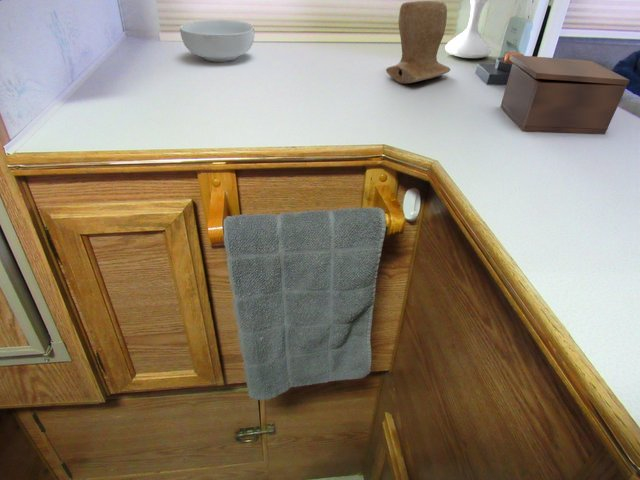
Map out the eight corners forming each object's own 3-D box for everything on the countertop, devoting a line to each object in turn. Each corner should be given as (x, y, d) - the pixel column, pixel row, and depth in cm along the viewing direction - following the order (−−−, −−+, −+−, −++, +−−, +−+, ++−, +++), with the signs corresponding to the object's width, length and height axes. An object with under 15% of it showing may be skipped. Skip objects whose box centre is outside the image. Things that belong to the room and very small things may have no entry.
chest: (523, 131, 69) (539, 82, 65) (500, 107, 79) (512, 63, 74) (605, 134, 70) (627, 85, 65) (572, 109, 79) (589, 65, 74)
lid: (535, 78, 64) (537, 73, 64) (508, 59, 74) (510, 54, 73) (627, 85, 65) (629, 79, 64) (589, 65, 74) (591, 60, 74)
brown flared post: (412, 66, 101) (423, -6, 92) (455, 77, 94) (472, 0, 85) (370, 77, 93) (378, -2, 84) (414, 90, 86) (428, 6, 77)
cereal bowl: (169, 61, 98) (163, 27, 94) (210, 47, 111) (207, 17, 107) (232, 70, 93) (228, 36, 89) (268, 55, 106) (266, 23, 102)
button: (517, 60, 93) (520, 52, 92) (523, 65, 90) (526, 56, 89) (501, 60, 93) (503, 51, 92) (507, 64, 90) (509, 55, 89)
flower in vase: (497, 61, 107) (529, -60, 92) (456, 62, 105) (482, -61, 90) (471, 49, 117) (496, -61, 103) (433, 50, 115) (453, -63, 100)
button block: (526, 75, 98) (532, 56, 95) (542, 86, 90) (549, 67, 88) (475, 73, 97) (479, 54, 95) (486, 84, 90) (491, 65, 88)
